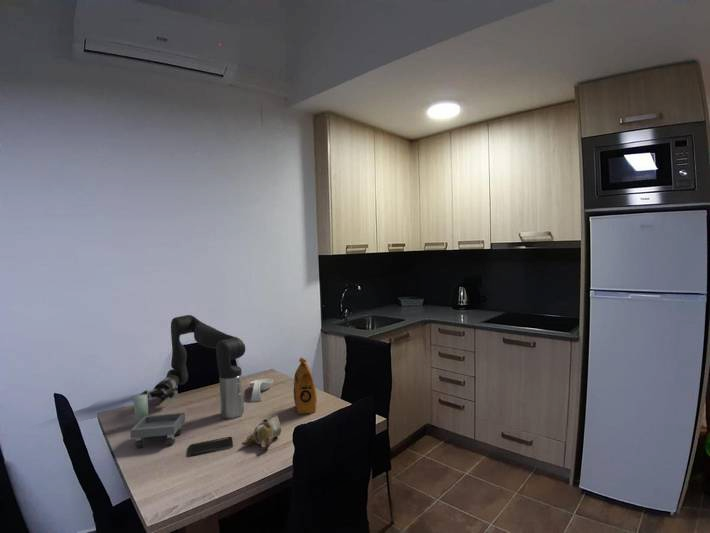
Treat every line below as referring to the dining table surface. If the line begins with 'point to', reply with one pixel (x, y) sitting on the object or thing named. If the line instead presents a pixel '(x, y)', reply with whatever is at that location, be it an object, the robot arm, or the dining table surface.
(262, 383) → the white t-shaped piece
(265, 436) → the ceramic sculpture
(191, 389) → the dining table surface
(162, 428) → the tray
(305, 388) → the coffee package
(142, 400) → the pale green cylinder
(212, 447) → the phone
